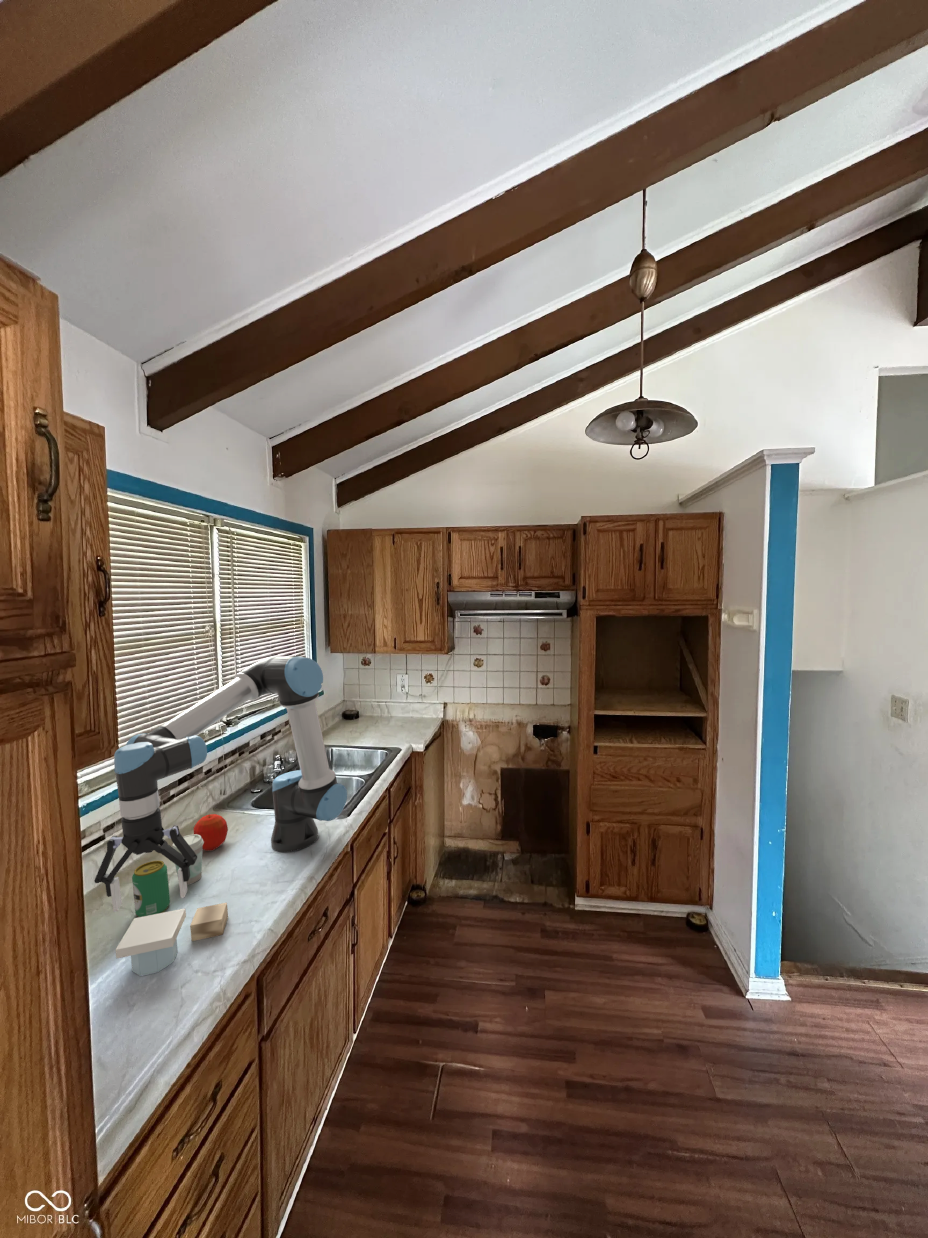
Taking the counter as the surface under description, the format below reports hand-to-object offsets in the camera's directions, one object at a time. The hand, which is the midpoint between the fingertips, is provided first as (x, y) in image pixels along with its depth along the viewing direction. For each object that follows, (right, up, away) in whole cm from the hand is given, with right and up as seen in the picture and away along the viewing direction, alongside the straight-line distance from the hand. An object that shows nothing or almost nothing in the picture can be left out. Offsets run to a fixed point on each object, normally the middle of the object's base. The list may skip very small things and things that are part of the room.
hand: (151, 901), depth 115 cm
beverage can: (-12, -14, +20) cm, 27 cm away
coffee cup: (-10, -13, +34) cm, 38 cm away
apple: (-13, -12, +53) cm, 56 cm away
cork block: (+8, -13, +11) cm, 19 cm away
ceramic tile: (0, -8, 0) cm, 8 cm away
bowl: (+1, -14, +1) cm, 14 cm away
